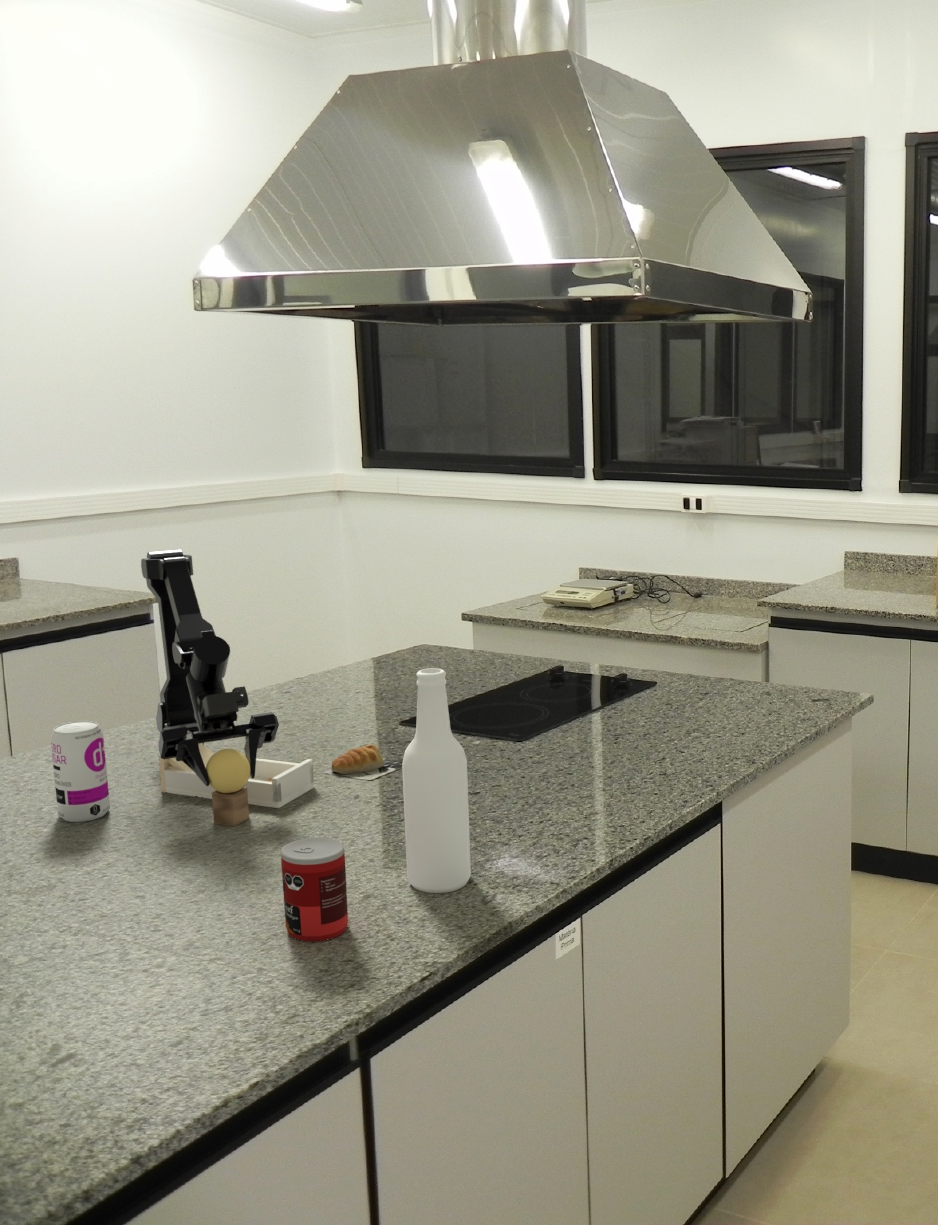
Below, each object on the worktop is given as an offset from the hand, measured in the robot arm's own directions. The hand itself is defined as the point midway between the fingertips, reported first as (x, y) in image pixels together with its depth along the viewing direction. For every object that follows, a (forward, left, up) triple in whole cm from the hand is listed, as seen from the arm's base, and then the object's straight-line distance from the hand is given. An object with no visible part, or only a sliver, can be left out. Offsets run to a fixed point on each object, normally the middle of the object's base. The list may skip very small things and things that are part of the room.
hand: (230, 781), depth 193 cm
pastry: (+5, +32, -7) cm, 33 cm away
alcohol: (+41, -9, -7) cm, 43 cm away
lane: (-9, +14, -7) cm, 18 cm away
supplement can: (-26, -5, -7) cm, 28 cm away
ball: (-1, +1, +1) cm, 2 cm away
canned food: (+33, -28, -7) cm, 44 cm away
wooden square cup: (-1, +1, -7) cm, 7 cm away
